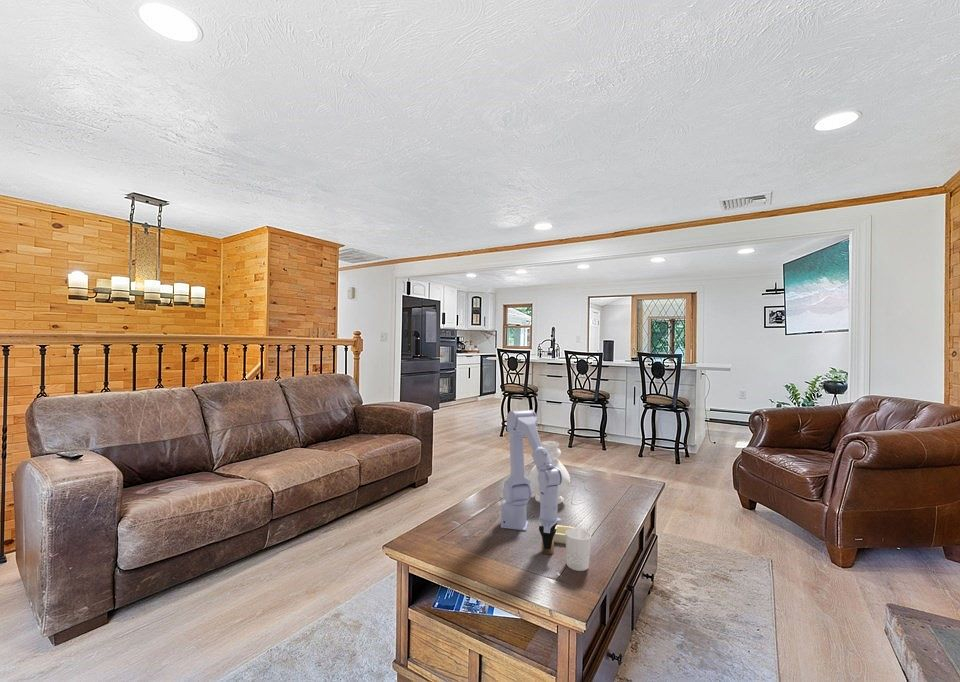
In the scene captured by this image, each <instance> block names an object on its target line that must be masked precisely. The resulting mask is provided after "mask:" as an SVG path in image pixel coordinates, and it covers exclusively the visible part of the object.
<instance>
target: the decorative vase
mask: <svg viewBox="0 0 960 682" xmlns="http://www.w3.org/2000/svg"><path fill="white" fill-rule="evenodd" d="M541 444H542V447H543V448H545V449H547V451H548V453H549V455H550V458H551V460H552V462H553V465H556V467H557V468H558V469H559V470H560V472H561V475H562V482H561V484H560V485H558V505H560V504H562V503H563V502H564V497H562V495H563V494H564V493H565V492H566V490H567V489H568V488H569V486H570V484H571V476H570V474H569V471H568V470H567V468H566V466H565V465H564V464H563V462H561V461H560V460H559V459H558V458H560V456H561V455H562V452H561V449H560V447H559V446H560V443H559V442H558V441H553V440H545V441H541ZM537 476H538V470H537V468H536V465H535V464H534V466H533V467H532V469H531V470H530V472H529V477H528V480H529V481H530V486H531V488H533V490H534V491H535V493H536V494H535V496H534V499H535V501H536V502H537V503H540V498H541V491H540V490H539V483H538V478H537Z"/></svg>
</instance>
